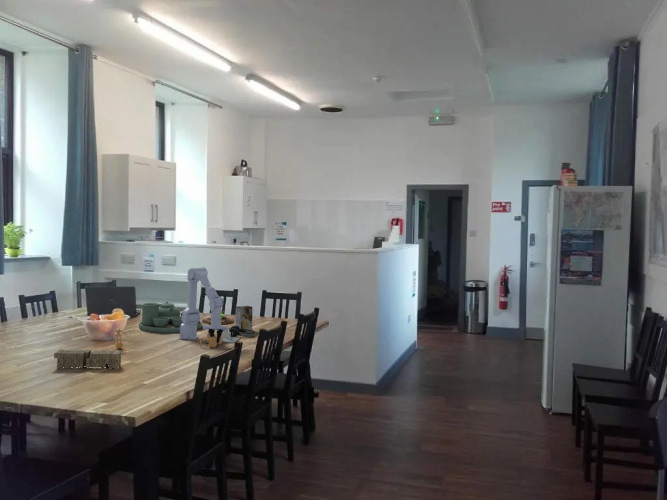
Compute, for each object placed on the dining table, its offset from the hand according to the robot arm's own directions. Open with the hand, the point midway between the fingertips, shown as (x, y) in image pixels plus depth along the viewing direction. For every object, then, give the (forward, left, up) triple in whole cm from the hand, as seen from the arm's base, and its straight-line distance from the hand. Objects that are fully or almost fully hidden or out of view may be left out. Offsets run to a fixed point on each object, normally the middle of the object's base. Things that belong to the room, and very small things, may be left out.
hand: (215, 342), depth 331 cm
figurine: (-47, -22, -2) cm, 52 cm away
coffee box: (+3, +48, -2) cm, 48 cm away
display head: (-1, +16, -2) cm, 16 cm away
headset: (+5, +32, -2) cm, 33 cm away
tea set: (-46, +47, -2) cm, 66 cm away
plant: (-23, +74, -2) cm, 78 cm away
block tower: (-42, -61, -2) cm, 74 cm away
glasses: (-3, 0, -1) cm, 3 cm away
